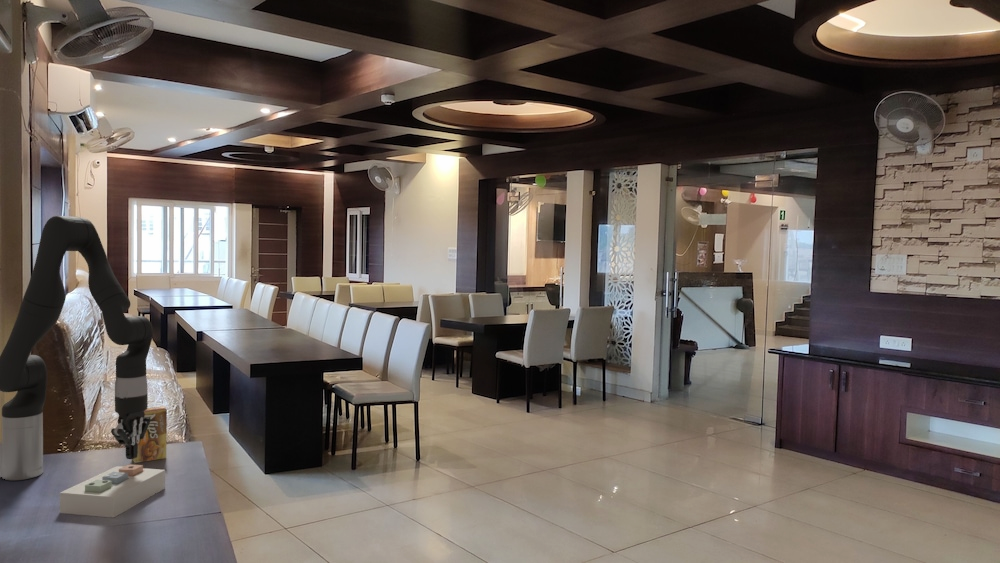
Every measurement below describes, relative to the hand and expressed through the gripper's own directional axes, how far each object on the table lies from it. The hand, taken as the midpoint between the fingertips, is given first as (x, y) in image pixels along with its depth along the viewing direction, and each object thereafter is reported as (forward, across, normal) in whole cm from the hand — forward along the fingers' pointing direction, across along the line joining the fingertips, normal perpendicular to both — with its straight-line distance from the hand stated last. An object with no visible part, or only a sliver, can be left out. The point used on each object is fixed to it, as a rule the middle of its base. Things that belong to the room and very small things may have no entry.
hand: (131, 458), depth 177 cm
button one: (+5, 0, 0) cm, 5 cm away
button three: (+5, +6, 0) cm, 8 cm away
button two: (+5, +12, 0) cm, 13 cm away
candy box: (+9, -25, -12) cm, 29 cm away
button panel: (+9, +6, 0) cm, 11 cm away
